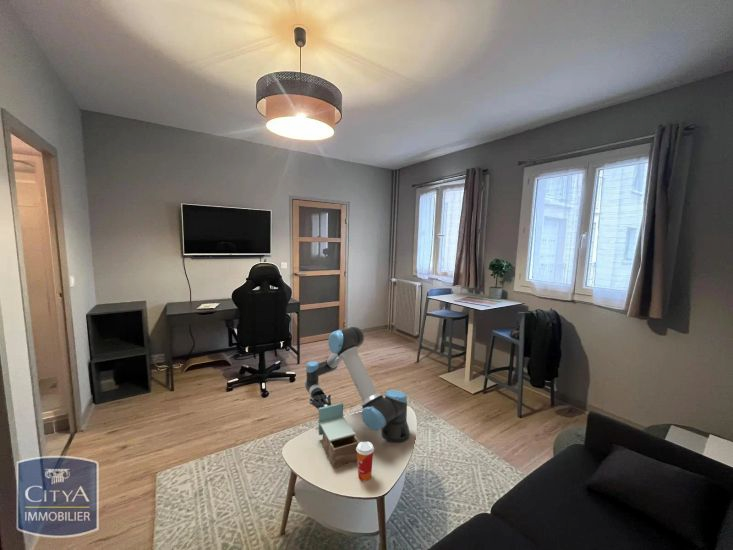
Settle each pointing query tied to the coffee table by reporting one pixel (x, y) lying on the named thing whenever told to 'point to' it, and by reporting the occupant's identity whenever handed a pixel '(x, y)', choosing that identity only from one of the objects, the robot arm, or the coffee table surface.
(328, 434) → the teal l-shaped piece
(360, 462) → the pill bottle
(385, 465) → the coffee table surface
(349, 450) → the walnut box
